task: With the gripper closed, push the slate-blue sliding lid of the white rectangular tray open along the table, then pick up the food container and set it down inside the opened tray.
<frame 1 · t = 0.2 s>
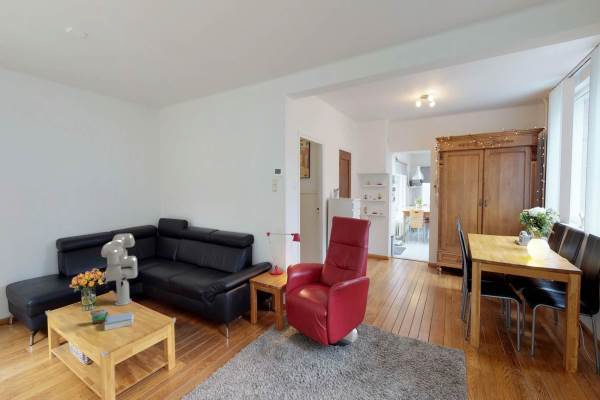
hand: (114, 287, 209), 31 cm above the table, fingers open, 9 cm apart
lid: (119, 316, 213), point 6 cm above the table, slide at 0.0 cm
white rectangular tray: (119, 324, 213), on the table
food container: (98, 323, 215), on the table
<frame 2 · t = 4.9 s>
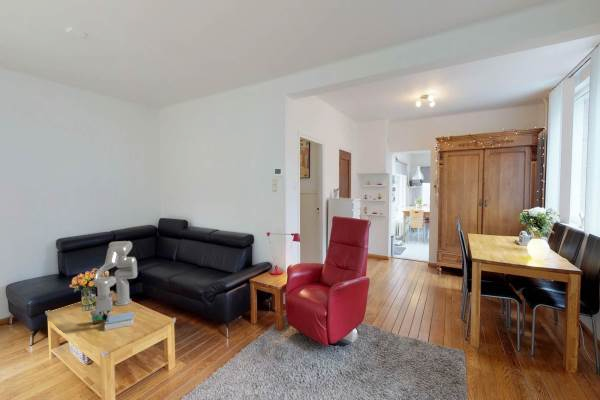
hand: (105, 319, 209), 6 cm above the table, fingers closed
lid: (120, 316, 213), point 6 cm above the table, slide at 0.9 cm, touching gripper
everything else where it was.
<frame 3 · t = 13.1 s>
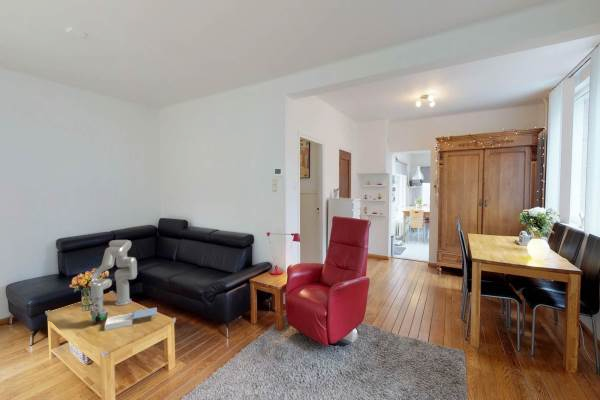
hand: (98, 320, 215), 2 cm above the table, fingers closed on food container, 5 cm apart
lid: (144, 312, 221), point 6 cm above the table, slide at 17.2 cm
food container: (98, 323, 214), on the table, touching gripper
when the fingers open (4 cm above the table, at t = 19.2 s): food container drops 2 cm, resting on white rectangular tray.
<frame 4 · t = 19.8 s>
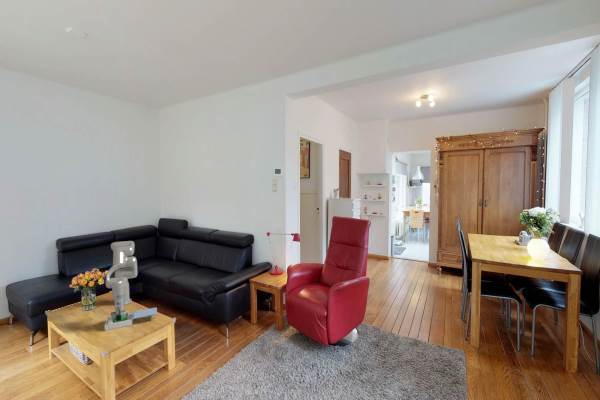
hand: (119, 317, 213), 6 cm above the table, fingers open, 9 cm apart
food container: (119, 324, 212), resting on white rectangular tray, touching gripper
everything else where it was.
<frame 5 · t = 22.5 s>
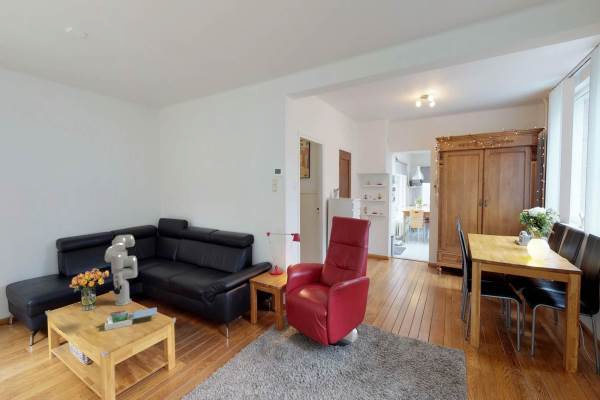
hand: (118, 291, 211), 26 cm above the table, fingers open, 9 cm apart
food container: (119, 324, 212), resting on white rectangular tray
everything else where it was.
at the end: lid slide at 17.2 cm; food container inside the target area on the white rectangular tray (1.6 cm from its centre), point 0.4 cm above the white rectangular tray's base; food container tilted 0° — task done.
